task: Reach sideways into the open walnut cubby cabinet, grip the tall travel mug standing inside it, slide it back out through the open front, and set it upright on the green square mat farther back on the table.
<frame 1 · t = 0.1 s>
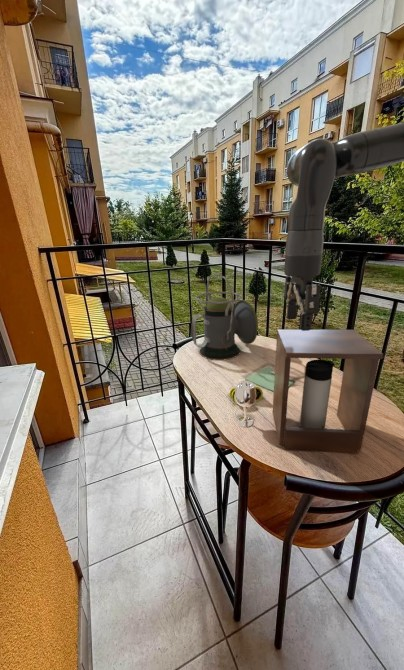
hand: (297, 324, 66), 30 cm above the table, tool pointing down, fingers open, 8 cm apart
green square mat: (272, 379, 102), on the table
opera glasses: (245, 400, 90), on the table
cabinet: (312, 429, 76), on the table
travel mug: (312, 430, 76), resting in cabinet
wineglass: (245, 422, 80), on the table
lantern: (228, 349, 129), on the table
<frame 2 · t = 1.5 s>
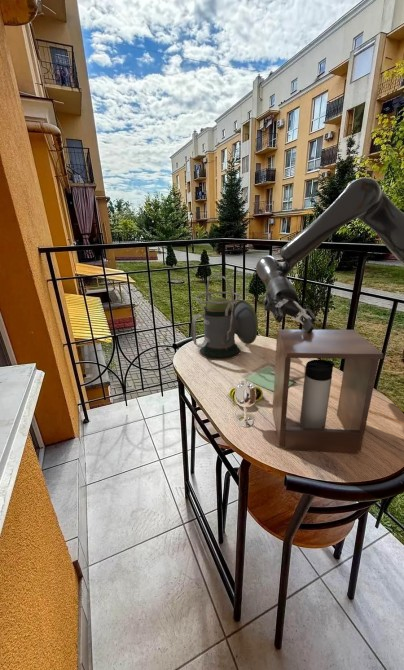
hand: (295, 325, 69), 29 cm above the table, tool tilted 75°, fingers open, 8 cm apart
nothing on the table moved.
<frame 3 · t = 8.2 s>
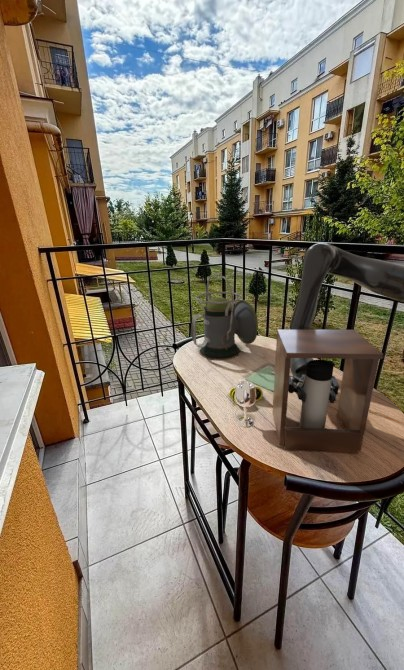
hand: (318, 399, 70), 11 cm above the table, tool horizontal, fingers closed on travel mug, 6 cm apart
travel mug: (312, 430, 76), resting in cabinet, touching gripper
everything else where it was.
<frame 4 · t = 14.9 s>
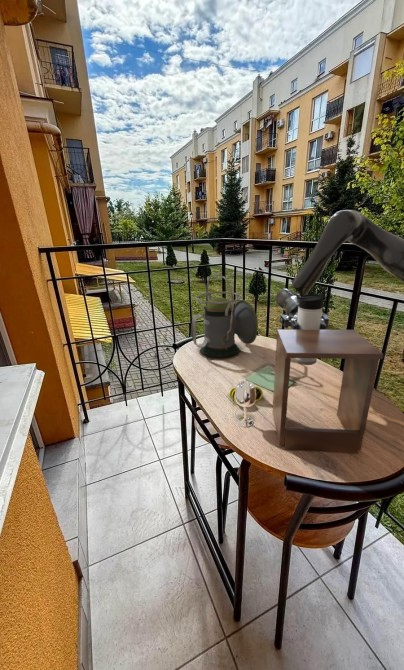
hand: (310, 328, 78), 25 cm above the table, tool horizontal, fingers closed on travel mug, 6 cm apart
travel mug: (305, 361, 84), point 14 cm above the table, touching gripper
everything else where it was.
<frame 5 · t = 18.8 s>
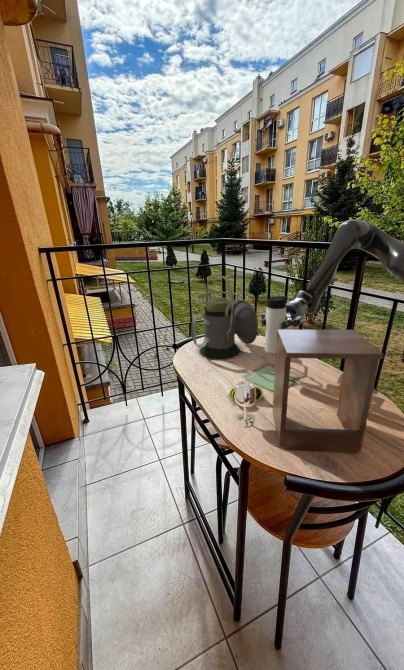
hand: (272, 324, 92), 22 cm above the table, tool horizontal, fingers closed on travel mug, 6 cm apart
travel mug: (274, 353, 98), point 10 cm above the table, touching gripper
everything else where it was.
when the fingers open (11 cm above the table, at t = 22.1 s): travel mug stays where it is, resting on green square mat.
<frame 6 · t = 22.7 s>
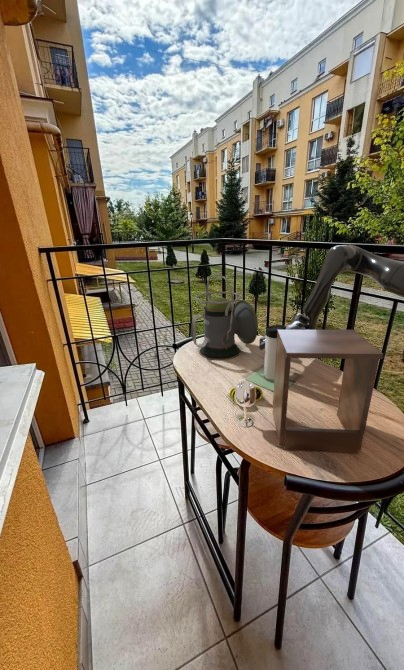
hand: (272, 350, 96), 12 cm above the table, tool horizontal, fingers open, 8 cm apart
travel mug: (273, 378, 102), resting on green square mat
everything else where it was.
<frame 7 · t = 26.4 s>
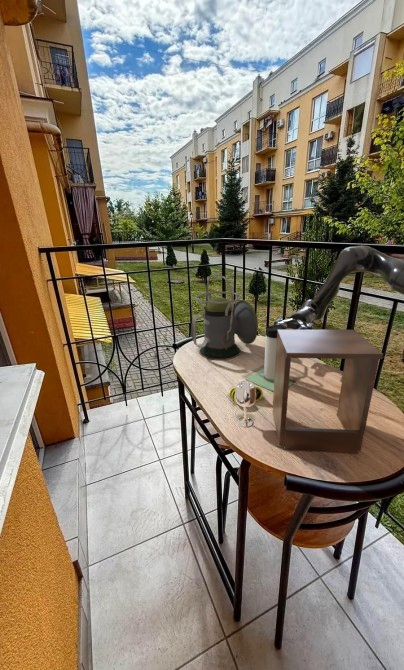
hand: (286, 330, 105), 15 cm above the table, tool horizontal, fingers open, 8 cm apart
nothing on the table moved.
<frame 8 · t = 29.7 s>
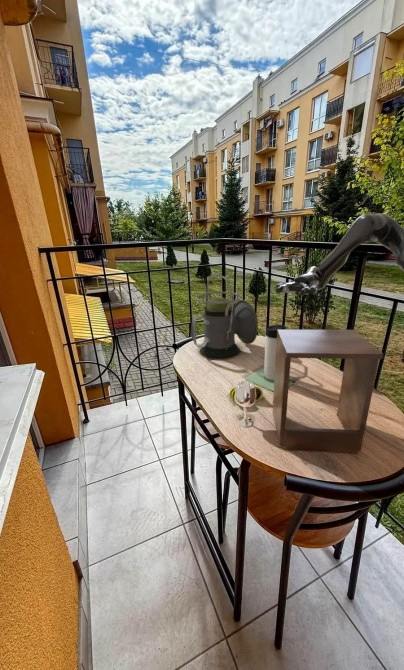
hand: (289, 291, 100), 30 cm above the table, tool horizontal, fingers open, 8 cm apart
nothing on the table moved.
at the end: travel mug inside the target area on the green square mat (0.1 cm from its centre), point 0.2 cm above the green square mat's base; travel mug tilted 0°; travel mug touching green square mat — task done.
